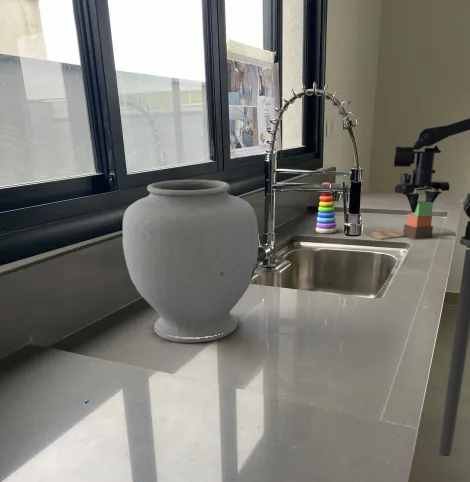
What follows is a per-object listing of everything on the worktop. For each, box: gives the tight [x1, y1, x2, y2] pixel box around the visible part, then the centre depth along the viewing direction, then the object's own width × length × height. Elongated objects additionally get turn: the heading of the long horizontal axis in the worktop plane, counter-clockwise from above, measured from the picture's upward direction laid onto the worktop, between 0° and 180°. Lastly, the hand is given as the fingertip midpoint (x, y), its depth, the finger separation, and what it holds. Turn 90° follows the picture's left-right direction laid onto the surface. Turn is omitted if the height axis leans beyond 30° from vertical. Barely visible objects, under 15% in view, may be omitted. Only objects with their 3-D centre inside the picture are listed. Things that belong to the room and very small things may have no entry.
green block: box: [411, 200, 434, 217], centre depth 176 cm, size 5×5×4 cm
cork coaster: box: [366, 230, 406, 240], centre depth 184 cm, size 10×10×1 cm
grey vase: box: [122, 179, 259, 344], centre depth 101 cm, size 27×27×30 cm
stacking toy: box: [315, 182, 338, 235], centre depth 189 cm, size 8×8×19 cm
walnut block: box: [402, 223, 434, 240], centre depth 180 cm, size 7×7×4 cm
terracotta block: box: [406, 212, 433, 228], centre depth 178 cm, size 6×6×4 cm
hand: (419, 212), depth 177 cm, fingers closed on green block, 5 cm apart
